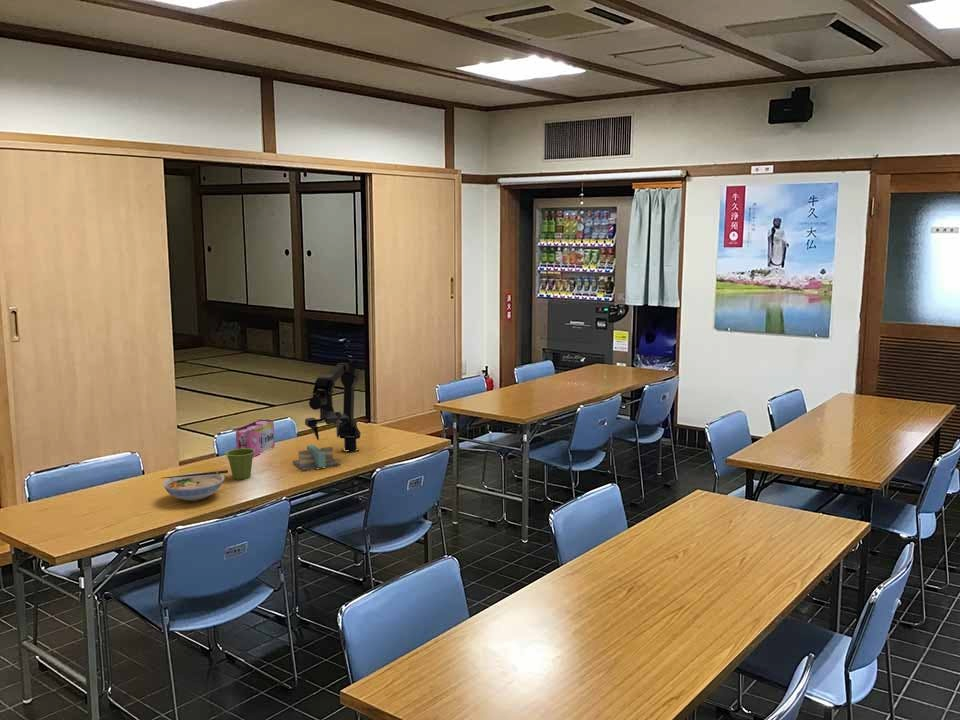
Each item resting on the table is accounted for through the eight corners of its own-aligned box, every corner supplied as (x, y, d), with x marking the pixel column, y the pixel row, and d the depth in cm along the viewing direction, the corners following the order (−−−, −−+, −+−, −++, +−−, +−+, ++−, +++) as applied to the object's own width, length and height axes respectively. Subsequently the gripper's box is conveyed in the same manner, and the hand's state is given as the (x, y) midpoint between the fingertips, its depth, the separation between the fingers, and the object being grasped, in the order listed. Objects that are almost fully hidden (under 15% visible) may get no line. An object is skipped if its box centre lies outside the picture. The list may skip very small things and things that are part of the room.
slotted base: (292, 463, 362) (292, 447, 361) (329, 457, 370) (328, 443, 369) (302, 471, 348) (301, 455, 347) (340, 465, 356) (339, 450, 355)
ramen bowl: (157, 510, 299) (155, 489, 297) (164, 493, 320) (162, 473, 319) (227, 504, 305) (226, 483, 304) (229, 487, 327) (228, 467, 326)
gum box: (250, 459, 370) (248, 430, 368) (234, 458, 372) (232, 430, 370) (275, 447, 393) (274, 419, 391) (260, 446, 395) (259, 419, 393)
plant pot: (223, 482, 334) (222, 455, 333) (232, 474, 346) (230, 448, 345) (252, 481, 335) (250, 455, 333) (259, 473, 346) (258, 448, 345)
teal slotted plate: (307, 458, 366) (307, 445, 365) (314, 457, 368) (313, 444, 367) (319, 467, 350) (318, 454, 350) (325, 466, 352) (325, 453, 351)
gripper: (310, 410, 347) (312, 445, 349) (352, 405, 355) (353, 439, 358) (303, 406, 356) (305, 440, 359) (344, 401, 365) (345, 434, 367)
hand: (328, 438), depth 360 cm, fingers open, 9 cm apart
